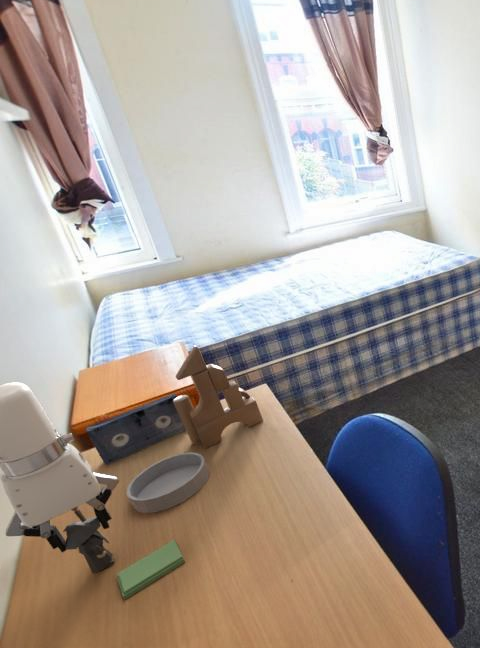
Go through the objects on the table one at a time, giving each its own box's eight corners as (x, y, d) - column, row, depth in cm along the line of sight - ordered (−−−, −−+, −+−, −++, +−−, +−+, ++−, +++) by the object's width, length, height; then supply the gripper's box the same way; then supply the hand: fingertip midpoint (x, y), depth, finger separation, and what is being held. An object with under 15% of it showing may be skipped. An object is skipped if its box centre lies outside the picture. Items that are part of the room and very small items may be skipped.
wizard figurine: (129, 557, 86) (97, 510, 81) (94, 584, 82) (58, 536, 77) (107, 542, 90) (75, 497, 85) (73, 568, 85) (37, 521, 80)
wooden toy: (254, 411, 127) (223, 329, 117) (263, 420, 123) (231, 336, 113) (190, 441, 117) (150, 354, 107) (197, 452, 113) (156, 363, 103)
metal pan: (141, 524, 93) (133, 511, 92) (127, 491, 103) (120, 479, 101) (218, 482, 102) (212, 470, 101) (199, 455, 112) (194, 444, 110)
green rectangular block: (124, 599, 78) (121, 594, 78) (118, 579, 82) (115, 573, 82) (185, 562, 84) (182, 557, 83) (176, 544, 88) (174, 539, 87)
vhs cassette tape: (189, 423, 125) (175, 392, 121) (191, 428, 123) (177, 396, 119) (103, 460, 114) (85, 427, 110) (104, 465, 112) (85, 432, 108)
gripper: (96, 420, 84) (138, 496, 91) (-41, 476, 73) (19, 557, 80) (102, 436, 79) (146, 515, 86) (-44, 499, 68) (21, 583, 75)
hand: (85, 534), depth 83 cm, fingers closed on wizard figurine, 5 cm apart
